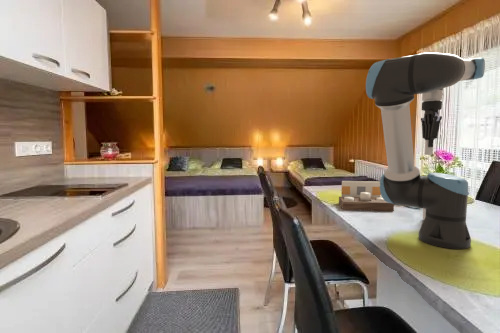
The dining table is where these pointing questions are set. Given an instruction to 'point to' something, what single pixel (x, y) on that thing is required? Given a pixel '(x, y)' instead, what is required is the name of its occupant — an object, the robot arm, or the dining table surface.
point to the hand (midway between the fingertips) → (428, 154)
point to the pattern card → (360, 188)
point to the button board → (365, 204)
